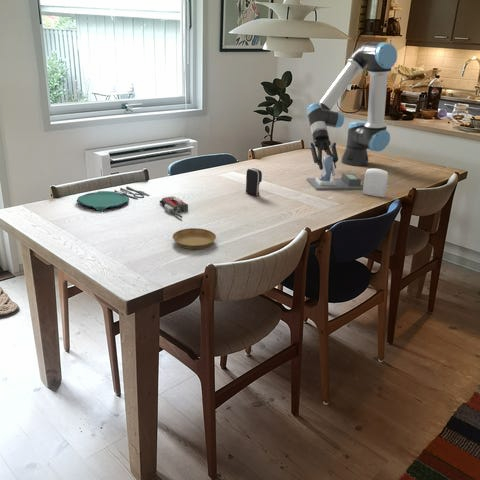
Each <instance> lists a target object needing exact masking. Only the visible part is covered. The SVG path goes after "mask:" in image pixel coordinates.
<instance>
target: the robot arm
mask: <svg viewBox="0 0 480 480" xmlns="http://www.w3.org/2000/svg"><path fill="white" fill-rule="evenodd" d="M397 59H398V52H397V49H396V47H395V46H394V44H392V43H389V42H384V41H366V42H364V43H362V44H361V45H360V46H358V47H357V48H356V49H355V50H354V51H353V53H352V54H351V55H350V56H349V57H348V59H347V60H346V62H347V63H346V65H345V66H344V67H343V69H342V70H341V71H340V73H339V74H338V75H337V77H336V78H335V80H334V81H333V82H332V83H331V85H330V86H329V88H328V89H327V91H326V92H325V94H324V95H323V96H322V97H321V99H320V100H319V101H318V102H317V103H316V102H314V103H311V104H310V105H308V106H307V108H306V113H307V118H308V123H309V127H310V130H311V135H312V140H313V142H310V144H309V145H308V146H309V149H310V151H311V154H312V160H313V162H314V164H317V166H318V168H319V171H321V174H322V175H323V177H324V176H325V175H326V169H325V165H324V162H323V151H324V152H325V153H326V156H327V155H330V156H332V157H333V161H332V169H331V175H332V176H331V177H335V176H336V175H337V170H336V169H337V165H336V163H338V161H339V156H338V150H337V147H336V146H337V143H336V142H334V143H333V142H331V141H330V138H329V132H328V129H327V127H330V128H338V129H339V128H341V127H343V124H344V122H345V116H344V114H343V113H342V112H339V111H333V110H332V109H333V108H334V106H335V105H336V104H337V103H338V101H339V100H340V98H341V97H342V96H343V94H344V93H345V91H346V90H347V89H348V87H349V86H350V85H351V83H352V82H353V80H355V79H356V77H357V75H358V74H359V73H361V72H363V71H364V70H365V68H366V67H367V73H368V74H369V89H368V103H367V106H368V107H367V118H366V119H367V121H351V122H349V124H348V128H347V129H348V131H347V138H346V145H345V146H346V147H345V149H344V151H343V153H342V156H341V159H340V162H341V163H342V164H345V165H349V166H356V167H357V166H358V167H360V166H361V167H363V166H367V165H368V164H369V156H368V150H370V151H372V152H382V151H383V150H385V149H386V147H387V146H389V143H390V140H391V134H390V133H389V131H387V128H388V127H387V125H388V124H387V123H385V113H386V112H385V111H386V101H387V100H386V99H387V88H388V86H387V85H388V75H389V74H390V73H391V72H392V67H394V66H395V63H397ZM316 149H317V150H316Z"/></svg>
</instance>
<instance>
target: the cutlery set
mask: <svg viewBox="0 0 480 480" xmlns="http://www.w3.org/2000/svg"><path fill="white" fill-rule="evenodd" d="M125 188H126V189H125ZM125 188H122V187H119V190H120V191H121V192H120V191H118V190H117V189H115V190H114V191H113V190H112V191H109V190H99V191H95V192H89V193H85V194H83V195H80V196H78V197H77V199H76V202H77V203H79V204H80V205H81V206H82V207H86V208H91V209H95V210H97V212H103V211H105V210H106V209H112V208H113V209H114V208H118V207H121V206H124V205H126V204H129V202H130V198H131V199H135V200H138V199H139V196H140V197H142V198H144V197H145V196H146V197H149V196H150V194H148V193H146V192H145V191H142V190H137V189H134V188H132V187H129V186H126V187H125ZM129 190H130V191H129ZM122 191H123V192H122ZM132 191H133V192H132ZM134 192H135V193H134ZM127 193H129V194H127ZM130 194H131V195H130Z"/></svg>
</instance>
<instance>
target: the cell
mask: <svg viewBox="0 0 480 480" xmlns="http://www.w3.org/2000/svg"><path fill="white" fill-rule="evenodd" d="M332 161H333V157H332V156H330V155H327V154H326V155H323V156H322V162H324V165H325V169H326V175H325V176H324V177H323V175H322V173H321V174H320V178H321V180H325V181H329V180H330V178H332V176H331V175H332V171H331V169H332Z"/></svg>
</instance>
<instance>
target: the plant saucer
mask: <svg viewBox="0 0 480 480" xmlns="http://www.w3.org/2000/svg"><path fill="white" fill-rule="evenodd" d="M216 238H217V235H216V233H214V232H213V231H211V230H208V229H206V228H205V229H204V228H199V227H198V228H196V227H194V228H193V227H190V228H183V229H180V230H177V231H175V232H174V233H173V234H172V239H173V241H174V242H175V243H176V244H177V245H178V246H180V247H181V248H183V249H187V250H188V249H189V250H202V249H205V248H208V247H209V246H210V245H212V244H213V243H214V242H215V241H216Z"/></svg>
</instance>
